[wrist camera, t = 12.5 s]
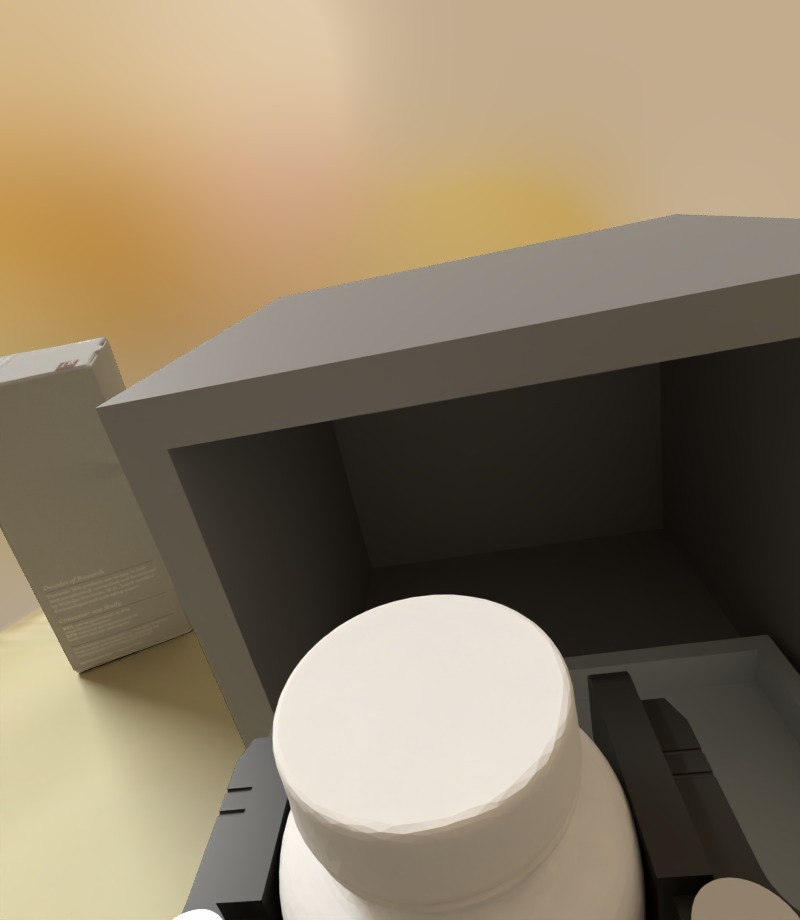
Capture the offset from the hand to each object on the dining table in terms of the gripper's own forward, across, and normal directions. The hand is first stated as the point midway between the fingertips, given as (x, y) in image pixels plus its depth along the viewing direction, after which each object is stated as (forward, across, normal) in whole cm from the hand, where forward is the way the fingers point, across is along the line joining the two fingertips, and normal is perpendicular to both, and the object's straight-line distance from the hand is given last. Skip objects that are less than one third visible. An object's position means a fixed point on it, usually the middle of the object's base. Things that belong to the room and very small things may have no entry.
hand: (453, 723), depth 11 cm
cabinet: (+11, -2, +9) cm, 15 cm away
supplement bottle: (-3, 0, +6) cm, 7 cm away
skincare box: (+18, +20, +9) cm, 28 cm away
